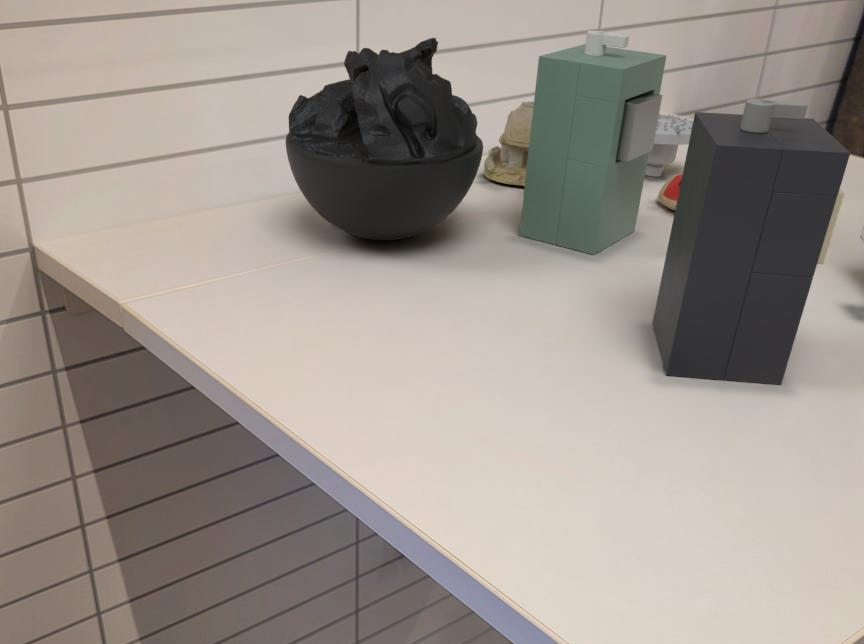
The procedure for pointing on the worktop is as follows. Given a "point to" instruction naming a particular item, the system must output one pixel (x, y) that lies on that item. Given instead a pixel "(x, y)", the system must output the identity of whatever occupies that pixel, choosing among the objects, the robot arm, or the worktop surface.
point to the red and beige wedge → (670, 192)
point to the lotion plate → (831, 227)
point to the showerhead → (667, 142)
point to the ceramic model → (512, 148)
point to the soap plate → (638, 126)
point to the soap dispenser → (585, 144)
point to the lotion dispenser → (745, 241)
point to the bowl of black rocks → (384, 145)
